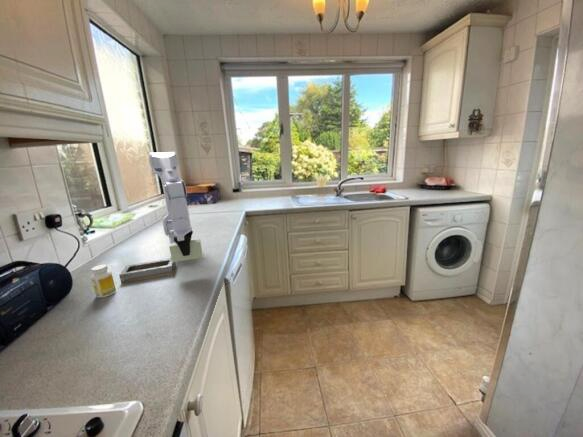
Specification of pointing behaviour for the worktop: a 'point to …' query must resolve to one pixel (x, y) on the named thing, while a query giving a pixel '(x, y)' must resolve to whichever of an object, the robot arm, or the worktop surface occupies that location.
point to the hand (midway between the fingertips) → (187, 253)
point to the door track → (147, 270)
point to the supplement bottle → (102, 281)
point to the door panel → (194, 251)
